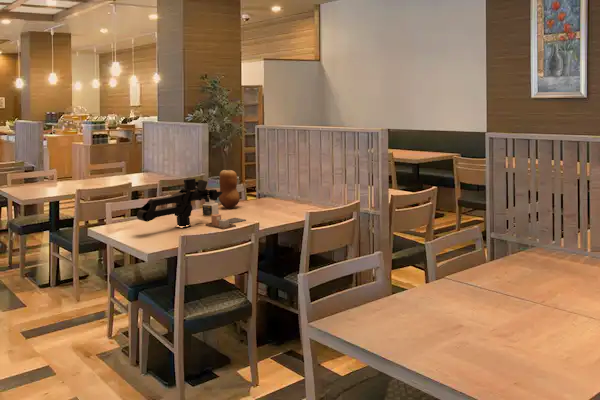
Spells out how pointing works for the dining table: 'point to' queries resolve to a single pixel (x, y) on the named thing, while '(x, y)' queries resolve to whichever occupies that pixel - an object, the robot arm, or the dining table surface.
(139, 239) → the dining table surface
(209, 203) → the medicine bottle
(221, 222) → the grey block
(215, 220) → the terracotta block
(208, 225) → the caddy
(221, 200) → the butternut squash
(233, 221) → the slate pad
